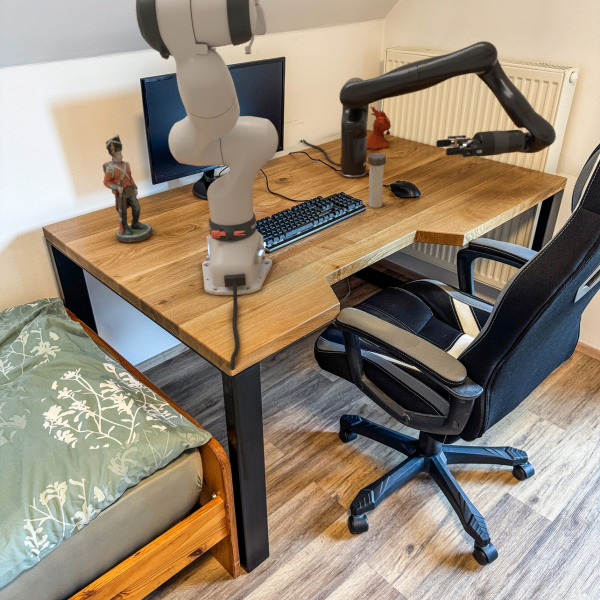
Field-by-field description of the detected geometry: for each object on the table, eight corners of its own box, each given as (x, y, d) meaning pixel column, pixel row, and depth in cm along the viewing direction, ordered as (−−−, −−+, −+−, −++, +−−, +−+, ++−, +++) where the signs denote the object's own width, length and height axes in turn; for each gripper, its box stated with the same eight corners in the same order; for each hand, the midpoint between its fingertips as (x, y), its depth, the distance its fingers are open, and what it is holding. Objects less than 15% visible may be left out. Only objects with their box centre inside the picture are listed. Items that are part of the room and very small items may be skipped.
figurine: (143, 244, 164) (122, 142, 148) (110, 242, 166) (86, 141, 150) (158, 228, 173) (139, 130, 157) (126, 227, 175) (105, 130, 159)
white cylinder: (368, 207, 181) (369, 159, 173) (368, 202, 185) (370, 155, 176) (382, 207, 180) (384, 159, 172) (382, 202, 184) (384, 155, 176)
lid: (367, 165, 173) (368, 158, 172) (368, 160, 178) (368, 153, 176) (385, 165, 172) (385, 158, 171) (385, 160, 177) (386, 153, 176)
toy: (397, 145, 235) (399, 108, 227) (362, 152, 228) (362, 115, 220) (381, 138, 244) (382, 102, 236) (346, 145, 238) (346, 108, 230)
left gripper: (182, -1, 142) (190, 58, 149) (263, -5, 141) (267, 55, 149) (187, -3, 147) (194, 54, 154) (265, -6, 147) (268, 51, 154)
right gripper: (482, 125, 181) (434, 129, 180) (502, 137, 170) (451, 142, 168) (479, 148, 185) (432, 152, 184) (499, 161, 173) (448, 166, 172)
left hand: (231, 54), depth 151 cm, fingers open, 8 cm apart
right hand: (441, 147), depth 176 cm, fingers open, 8 cm apart
